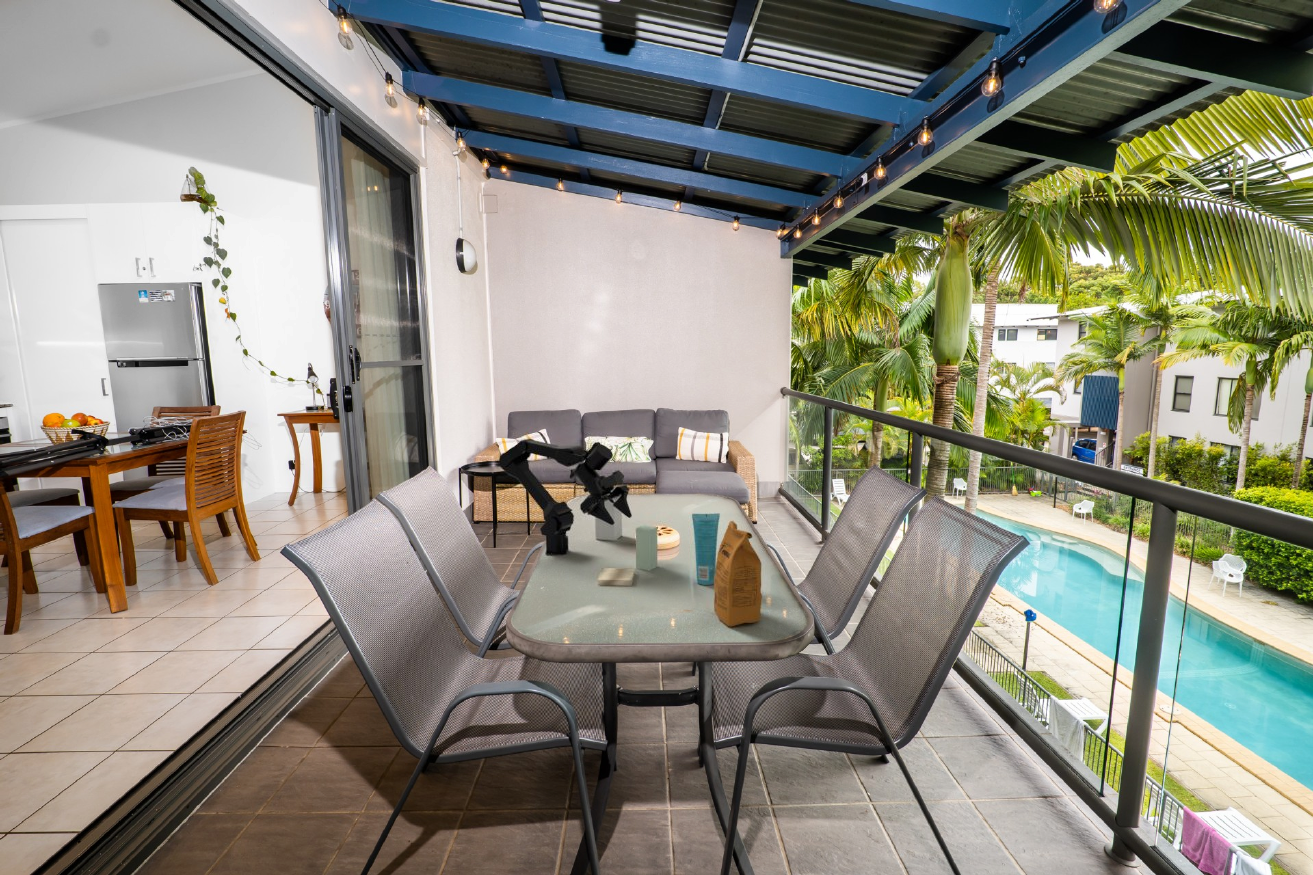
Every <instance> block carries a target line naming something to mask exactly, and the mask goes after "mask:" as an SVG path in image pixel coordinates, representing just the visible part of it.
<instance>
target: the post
mask: <svg viewBox="0 0 1313 875" xmlns="http://www.w3.org/2000/svg"><path fill="white" fill-rule="evenodd" d="M657 567H658V526H654V525H653V526H652V525H648V524H643V525H641V526H639V527H636V528H635V569H639V570H643V571H648V572H650V571H651V570H654V569H655V568H657Z"/></svg>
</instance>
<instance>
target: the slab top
mask: <svg viewBox="0 0 1313 875" xmlns="http://www.w3.org/2000/svg"><path fill="white" fill-rule="evenodd" d="M634 578H635V568H619V567H618V568H615V567H614V568H610V567H608V568H602V569H601V571H600V573H599V576H598V578H597V586H632V584H633V580H634Z"/></svg>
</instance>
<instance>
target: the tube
mask: <svg viewBox="0 0 1313 875" xmlns="http://www.w3.org/2000/svg"><path fill="white" fill-rule="evenodd" d="M691 518H692V525H693V536H694V549H695V550H694V551H695V552H694V554H695V568H696V569H695V570H696V583H698V585H703V586H710V585H714V576H715V568H716V562H717V546H718V534H719V533H718V532H719V522H720V513H718V512H717V513H692V514H691Z"/></svg>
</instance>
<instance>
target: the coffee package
mask: <svg viewBox="0 0 1313 875" xmlns="http://www.w3.org/2000/svg"><path fill="white" fill-rule="evenodd" d="M750 539H753V535H752V533H751V532H748V531H745V530H740V529H738V525H737V523H736V522H734V520H730V521H729V523H728V525H727V528H726V531H725V533H724V535H723V537H722V539H721V542H720V545H719V548H718V552H717V555H716V567H715V576H714V584H713V586H714V587H713V588H714V598H713V607H714V608H713V610H714V612H715V613H716V614H715V615H716V616H717V618H718V620H719V621H720V622H722V623H724V625H726V626H727V627H735V626H738V625H742V624H751V623H752V624H753V623H757V622H760V621H761V608H762V602H763V601H762V598H763V595H762V591H761V590H762V561H761V559H760V558H759V556H758V553H757V552H756V550H755V549H754V547H753V545H752V544H751V542H750Z"/></svg>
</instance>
